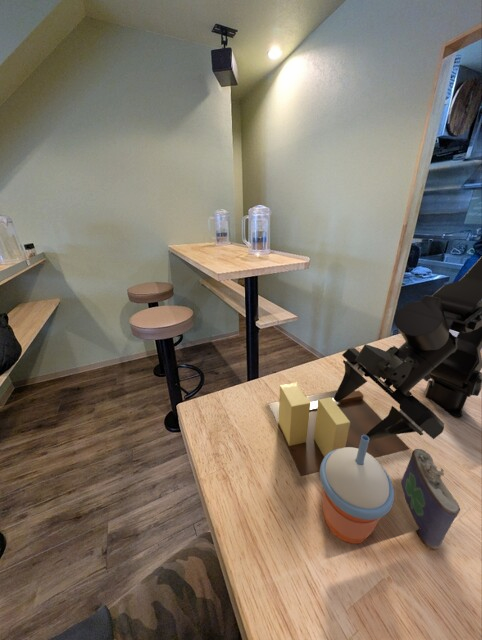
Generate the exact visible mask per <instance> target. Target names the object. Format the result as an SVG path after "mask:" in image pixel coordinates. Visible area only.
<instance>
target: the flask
mask: <svg viewBox="0 0 482 640" xmlns="http://www.w3.org/2000/svg"><path fill="white" fill-rule="evenodd" d="M434 463H435V462H434V460H433V458H432V456H431V454H430V453H429V452H427V451H426V450H424V449H423V448H415V449H413V450H412V453H411V456H410V458H409V461H408V464H407V467H406V468H405V471H404V473H403V476H402V479H401V482H400V484H401V488H402V492H403V495H404V500H405V501H406V505H407V507H408V509H409V510H410V513H411V515H412V517H413V519H414V521H415V523H416V525H417V526H418V528H419V529H415V533H416V535H417V537H418V538H419V539H420V541H421V542H422V544H424V546H425V547H427V548H429V549H431V550H439V549H440V547H442V544H443V541H444V539H445V538H446V535H447V533H448V531H449V530H450V528H451V526H452V524H453V523H454V521H455V519H456V518H457V517H458V515H459V513H460V511H461V508H460V505H459V503H458V502H457V500H456V498H454V496H453V495H452V493H451V492H450V491H449V489H448V488H447V486H446V484H445V483H444V482H443V480H442V478H441V477H444V475H445V472H444V471H445V470H444V469H443V468H440V470H439V469H438V467H437V466H436V465H435V464H434Z"/></svg>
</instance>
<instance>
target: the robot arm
mask: <svg viewBox="0 0 482 640" xmlns="http://www.w3.org/2000/svg"><path fill="white" fill-rule="evenodd" d="M394 325H395V326H396V328H397V330H398V332H399V334H400V335H401V337H402V338H403V340H404V341H405V342H404V343H402V345H400V346H399V347H397V346H395V345H393V346H390V347H389V348H388V349H387V350H384V349H381V348H379V347H376V346H372V345H370V344H367V343H364V345H363V346H362V348H361V350H357V349H356V347H350V348H348V349H346V350H345V351H344V352H343V353H342V354H341V356H342V357H343V358H344V359H343V361H342V363H343V364H344V374H343V378H342V380H341V381H340V384H339V386H338V388H337V390H336V391H337V392H336V394H335V396H334V400H335V401H336V402H338V401H340V400H342V399H344V398H345V397H347V396H348V395H349V394H351V393H352V392H353V391H357V389H359V388H360V387H362V386H363V385H365V384H366V383H367V382H368V380H367V379H366V378H370V380H372V381H373V382H374V383H375V384H376V385H377V386H378V387H380V388H381V389H382V390H383V391H384V392H385V393H387V395H388V396H390V398H392V399H393V400H394V401H395V402H396V403H397V404H398V405H399V410H398V409H397V408H396V407H395V406H394V405H392V406H391V408H390V409H389V412H388V415H387V416H386V417H384V418H383V419H382V421H381V422H380V423H378V424H377V425H376V426H375V427H373V428H372V429H371V430H370V431H369V432H368V433H367V434H366V435H367V436H368V437H369V441H371V440H375V439H379V438H383V437H387V436H391V435H403V434H410V433H417V434H418V435H420V436H421V437H422V436H424V433H423V431H424V432H425V433H426V434H427V435H428V436H429V437H430V438H431V439H432V440H435V439H436V438H437V437H439V436H440V435H441V434H442V433H443V432H444V430H445V423H444V422H443V421H442V420H441V418H440V417H438V415H436V413H434V412H433V411H432V410H431V409H430V408H429V407H428V406H426V405H425V404H424V403H423V402H421V401H420V400H419V399H418V398H416V397H415V396H414V395H413V393H412V392H411V391H410V390H412V389H413V388H414V387H415V386H416V385H418V384H419V383H420V382H421V381H423V380H424V381H425V382H427V384H426V387H425V389H424V397H425V399H428V400H430V401H432V402H433V403H435V405H437V406H439V407H440V408H441V409H442V410H444V411H445V412H446V413H447V414H449V415H450V416H454V417H457V418H460V419H461V418H463V415H464V414H463V408H464V406H465V404H466V402H467V399H468V398H470V397H471V396H474V397H478V396H479V395H480V392H481V391H482V372H481V371H482V353H481V351H482V255H481V256H480V257H479V259H478V260H476V261H475V263H474V264H473V265H472V266H471V267H470V268H469V269H468V271H467V272H466V273H465V274H464V275H463V276H462V277H461V278H459V280H457V281H454V282H450V283H447V284H444V285H442V286H441V287H440V288H438V289H437V291H435V292H433V294H432V295H429V294H425V295H424V296H423V298H421V300H416V301H412V302H408V303H406V304H404V305H403V306H402V307H400V308H398V310H397V311H396V313H395V315H394ZM450 330H452V331H457V332H458V333H457V336H455V335H453V333H452V332H451V331H450ZM365 377H366V378H365ZM391 386H392V387H393V388H394V390H393V389H392V388H391Z"/></svg>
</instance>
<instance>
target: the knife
mask: <svg viewBox="0 0 482 640" xmlns="http://www.w3.org/2000/svg"><path fill="white" fill-rule="evenodd" d="M364 396H365V395H364V394H363V393H362V392H361V391H360V390H355V391H354V392H352V393H351V394H349V395H348V396H347V397H345V398H344V399H342V400H340V401H338V402H336V401H335V400H334V398H332V399H333V401H334V402H335V403H336V404H337V405H340V404H342V403H347V402H352V401H357V400H362V399H363V400H364ZM317 408H318V401H314V402H310V411H311V410H316V409H317Z"/></svg>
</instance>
